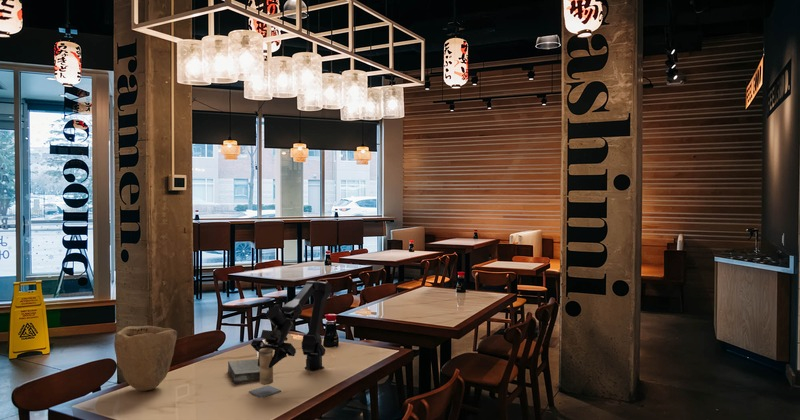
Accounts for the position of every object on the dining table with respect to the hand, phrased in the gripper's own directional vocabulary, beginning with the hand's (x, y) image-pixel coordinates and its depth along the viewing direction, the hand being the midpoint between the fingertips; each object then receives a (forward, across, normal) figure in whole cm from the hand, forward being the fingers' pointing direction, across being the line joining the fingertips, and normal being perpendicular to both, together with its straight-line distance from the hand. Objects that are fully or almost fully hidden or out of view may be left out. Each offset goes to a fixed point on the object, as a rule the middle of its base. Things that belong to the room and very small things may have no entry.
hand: (264, 366), depth 209 cm
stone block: (-3, -22, +19) cm, 29 cm away
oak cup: (+4, 0, +6) cm, 7 cm away
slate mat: (+6, -1, +8) cm, 11 cm away
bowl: (+18, -46, -3) cm, 50 cm away
